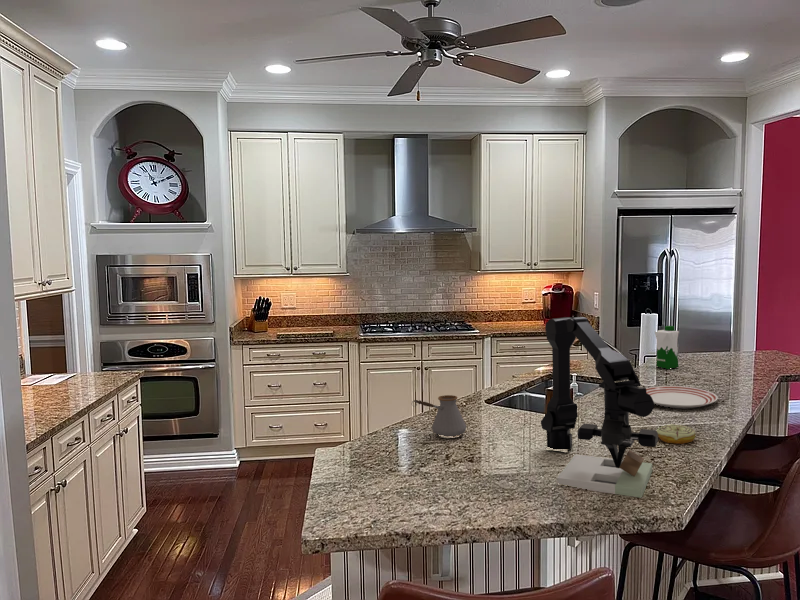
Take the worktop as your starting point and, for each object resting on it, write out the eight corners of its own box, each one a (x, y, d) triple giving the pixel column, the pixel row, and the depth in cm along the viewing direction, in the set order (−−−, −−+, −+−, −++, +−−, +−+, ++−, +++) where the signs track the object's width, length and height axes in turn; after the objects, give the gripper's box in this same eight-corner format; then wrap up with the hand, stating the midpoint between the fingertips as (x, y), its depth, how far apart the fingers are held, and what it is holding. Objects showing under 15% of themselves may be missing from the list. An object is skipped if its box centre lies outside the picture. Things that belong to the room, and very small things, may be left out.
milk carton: (681, 368, 282) (680, 326, 281) (668, 370, 279) (667, 328, 277) (666, 365, 290) (665, 325, 289) (652, 367, 287) (652, 326, 285)
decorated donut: (649, 439, 183) (649, 426, 182) (672, 432, 188) (672, 420, 187) (679, 447, 174) (679, 434, 173) (702, 440, 179) (702, 428, 178)
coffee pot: (448, 428, 204) (446, 385, 203) (474, 434, 196) (472, 390, 195) (403, 443, 190) (400, 397, 189) (428, 451, 181) (426, 403, 180)
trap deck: (557, 485, 150) (557, 477, 150) (575, 461, 166) (575, 454, 166) (641, 497, 140) (641, 489, 140) (652, 470, 156) (652, 463, 156)
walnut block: (619, 467, 149) (626, 454, 148) (621, 462, 153) (629, 449, 152) (634, 476, 148) (641, 463, 147) (636, 471, 151) (644, 458, 150)
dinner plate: (728, 412, 206) (728, 403, 206) (645, 412, 212) (645, 403, 212) (705, 394, 233) (704, 385, 233) (631, 394, 239) (631, 386, 239)
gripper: (571, 412, 148) (573, 473, 149) (651, 419, 138) (653, 484, 140) (581, 401, 158) (583, 459, 159) (657, 407, 148) (659, 468, 149)
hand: (618, 467), depth 151 cm, fingers closed
